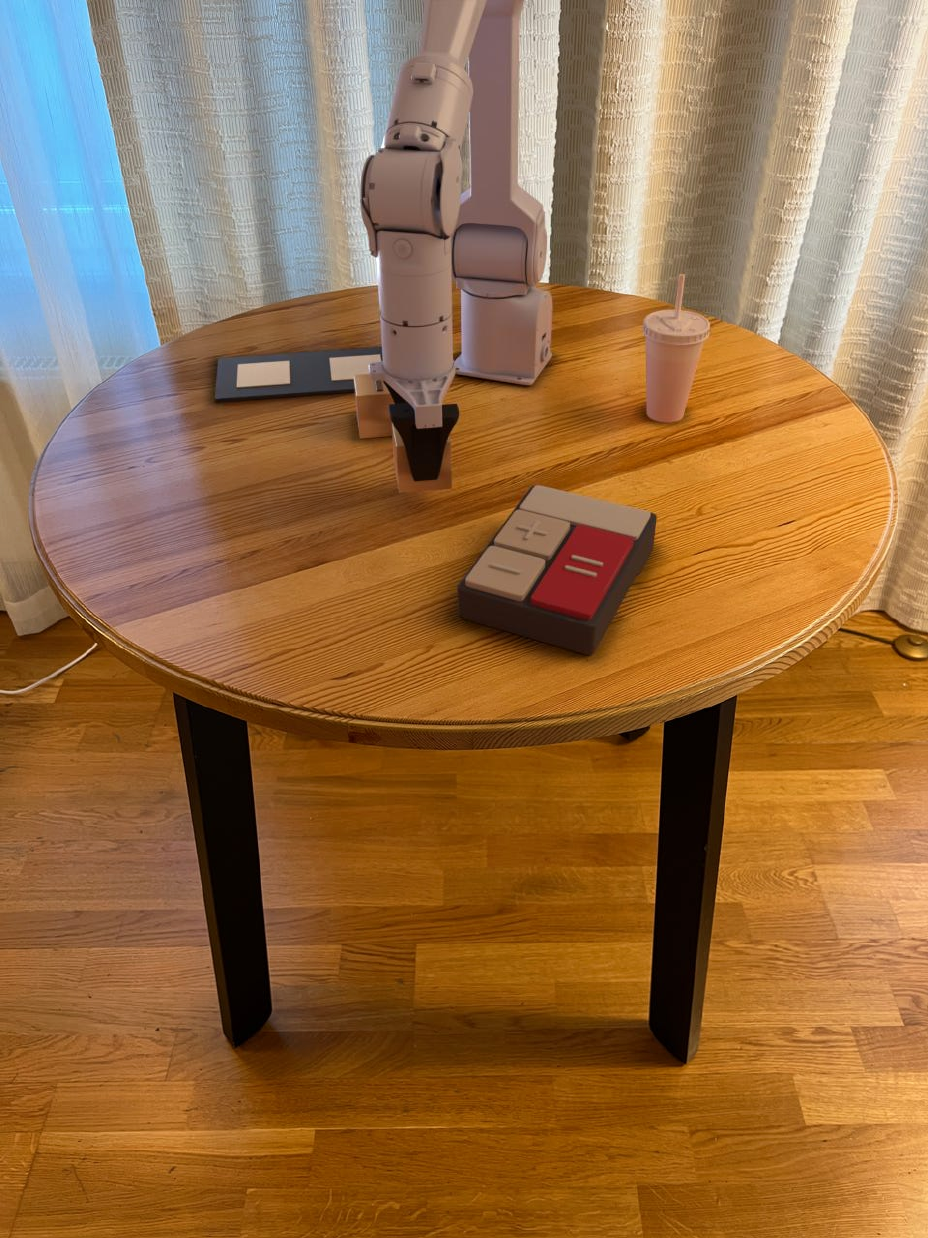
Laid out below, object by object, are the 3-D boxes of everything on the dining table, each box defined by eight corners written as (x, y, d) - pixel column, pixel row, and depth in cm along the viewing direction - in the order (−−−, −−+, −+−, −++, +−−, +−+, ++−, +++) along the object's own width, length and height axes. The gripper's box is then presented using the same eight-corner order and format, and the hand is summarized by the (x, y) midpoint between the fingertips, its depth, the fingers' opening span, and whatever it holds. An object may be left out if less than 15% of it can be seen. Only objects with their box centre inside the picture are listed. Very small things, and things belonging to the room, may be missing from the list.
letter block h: (445, 461, 92) (443, 414, 89) (451, 488, 88) (451, 440, 85) (394, 466, 91) (391, 418, 88) (399, 493, 88) (396, 444, 85)
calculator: (454, 580, 75) (532, 475, 85) (456, 623, 78) (531, 517, 88) (595, 619, 72) (659, 505, 82) (591, 663, 74) (654, 548, 84)
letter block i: (402, 413, 104) (399, 369, 101) (406, 435, 100) (404, 390, 97) (356, 416, 103) (353, 373, 100) (359, 438, 100) (356, 394, 97)
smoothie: (694, 400, 105) (714, 265, 97) (699, 430, 100) (721, 290, 92) (632, 398, 106) (646, 263, 97) (633, 427, 101) (649, 288, 92)
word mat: (397, 348, 116) (397, 344, 115) (407, 388, 108) (406, 383, 108) (218, 361, 113) (218, 357, 113) (215, 402, 106) (214, 398, 105)
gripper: (358, 281, 85) (369, 426, 94) (372, 355, 74) (383, 512, 83) (442, 276, 86) (445, 420, 95) (468, 348, 75) (469, 504, 84)
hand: (421, 462), depth 89 cm, fingers closed on letter block h, 4 cm apart
